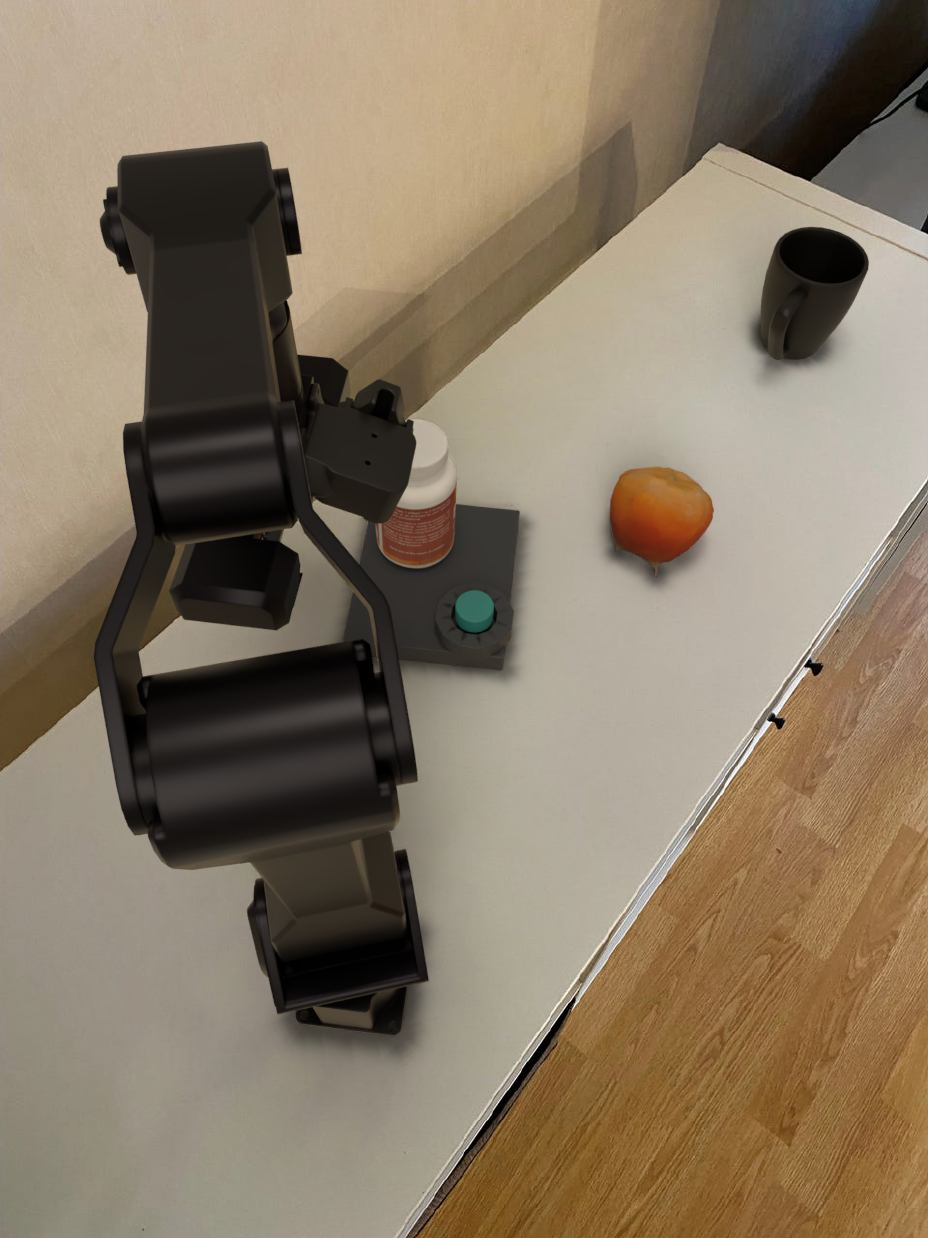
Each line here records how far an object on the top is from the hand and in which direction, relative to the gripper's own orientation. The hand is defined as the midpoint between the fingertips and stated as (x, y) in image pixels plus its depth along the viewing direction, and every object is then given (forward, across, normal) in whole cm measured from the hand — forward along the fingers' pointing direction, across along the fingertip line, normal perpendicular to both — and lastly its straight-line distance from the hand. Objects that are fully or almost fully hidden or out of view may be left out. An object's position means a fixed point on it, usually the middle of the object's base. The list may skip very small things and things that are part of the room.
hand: (288, 566), depth 63 cm
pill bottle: (+10, +11, -6) cm, 16 cm away
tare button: (+9, +3, -12) cm, 15 cm away
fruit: (+12, +15, -25) cm, 32 cm away
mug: (+12, +39, -37) cm, 55 cm away
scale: (+12, +8, -8) cm, 17 cm away
